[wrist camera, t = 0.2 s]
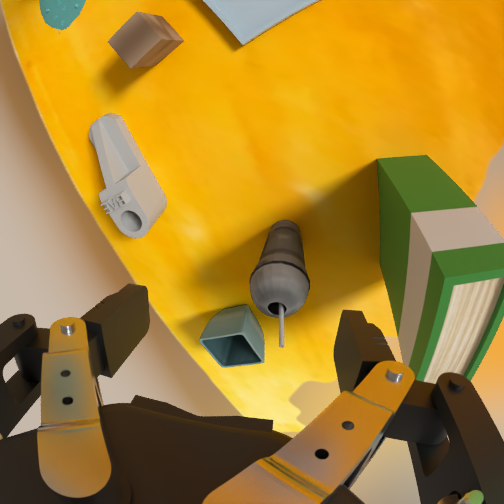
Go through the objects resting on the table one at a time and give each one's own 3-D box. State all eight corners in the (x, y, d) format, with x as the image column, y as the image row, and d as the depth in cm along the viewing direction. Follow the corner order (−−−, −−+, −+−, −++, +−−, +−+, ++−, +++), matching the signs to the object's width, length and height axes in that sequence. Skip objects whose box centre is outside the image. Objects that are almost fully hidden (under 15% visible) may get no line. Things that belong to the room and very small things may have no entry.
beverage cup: (283, 202, 43) (268, 305, 27) (319, 232, 45) (324, 342, 29) (251, 233, 47) (222, 339, 31) (287, 260, 49) (275, 368, 33)
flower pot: (209, 303, 57) (197, 340, 50) (251, 293, 54) (243, 332, 47) (230, 332, 62) (221, 368, 54) (270, 325, 58) (265, 363, 51)
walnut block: (135, 41, 31) (107, 42, 26) (162, 16, 29) (136, 11, 23) (156, 65, 33) (130, 68, 28) (184, 40, 31) (161, 39, 25)
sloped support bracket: (117, 107, 37) (85, 121, 31) (173, 208, 46) (153, 236, 40) (92, 125, 39) (60, 141, 33) (146, 219, 48) (124, 247, 42)
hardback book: (421, 259, 45) (466, 386, 25) (379, 264, 46) (408, 398, 27) (426, 155, 35) (522, 264, 16) (376, 158, 37) (444, 277, 18)
